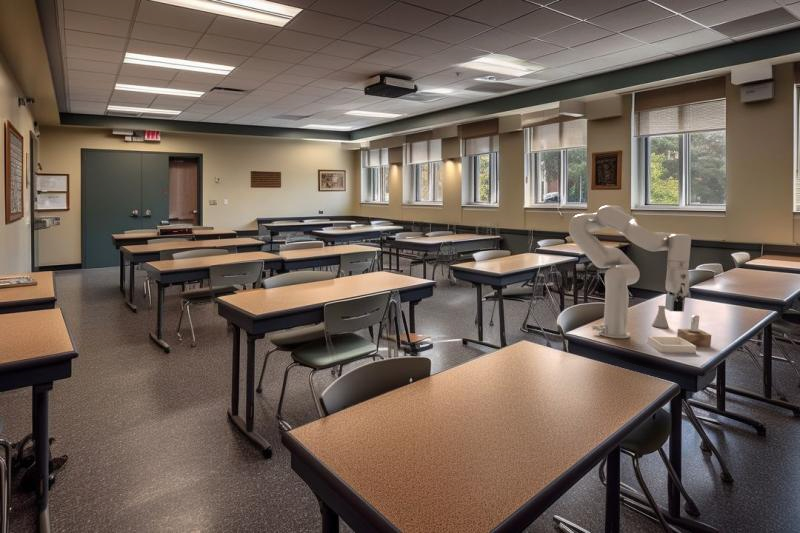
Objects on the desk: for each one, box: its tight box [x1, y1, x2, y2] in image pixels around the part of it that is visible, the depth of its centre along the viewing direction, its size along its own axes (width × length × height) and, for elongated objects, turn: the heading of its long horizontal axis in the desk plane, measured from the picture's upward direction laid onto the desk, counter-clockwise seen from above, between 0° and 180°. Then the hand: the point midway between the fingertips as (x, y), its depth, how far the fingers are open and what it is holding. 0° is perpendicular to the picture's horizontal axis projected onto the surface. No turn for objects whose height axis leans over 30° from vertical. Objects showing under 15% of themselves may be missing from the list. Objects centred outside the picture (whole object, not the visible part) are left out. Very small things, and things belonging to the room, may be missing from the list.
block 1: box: [664, 293, 686, 313], centre depth 195 cm, size 5×5×6 cm
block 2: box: [676, 328, 712, 348], centre depth 204 cm, size 9×9×5 cm
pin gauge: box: [689, 314, 700, 333], centre depth 204 cm, size 3×3×12 cm
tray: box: [646, 335, 697, 355], centre depth 197 cm, size 13×13×3 cm
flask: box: [651, 305, 670, 329], centre depth 231 cm, size 7×7×10 cm
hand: (674, 308), depth 195 cm, fingers closed on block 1, 5 cm apart
